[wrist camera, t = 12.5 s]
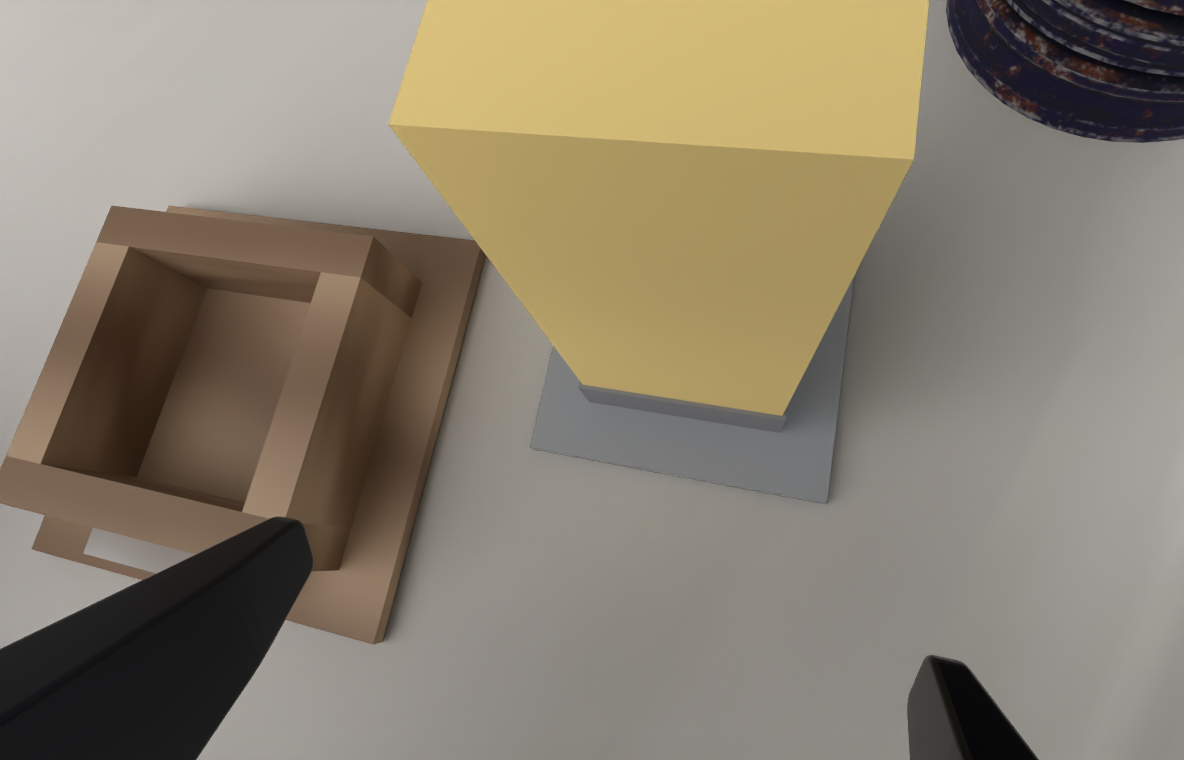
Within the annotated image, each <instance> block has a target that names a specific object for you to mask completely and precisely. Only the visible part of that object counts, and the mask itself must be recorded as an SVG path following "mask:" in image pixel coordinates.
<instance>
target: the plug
mask: <svg viewBox="0 0 1184 760" xmlns="http://www.w3.org/2000/svg"><path fill="white" fill-rule="evenodd" d="M928 6H929V0H428V1H427V4H426V7H425V10H424V13H423V17H422V20H421V23H420V26H419V29H418V32H417V36H416V39H415V42H414V45H413V48H412V51H411V55H410V58H409V61H408V64H407V67H406V70H405V74H404V77H403V80H402V83H401V86H400V89H399V93H398V96H397V99H396V102H395V105H394V108H393V112H392V115H391V118H390V121H389V124H388V125H389V126H390V127H391V129H392V130H393V131H394V133H395V134H396V135H397V137H398V138H399V139H400V141H401V142H402V143H403V145H404V146H405V147H406V149H407V150H408V151H409V153H410V154H411V155H412V157H413V158H414V159H415V161H416V162H417V163H418V165H419V166H420V167H421V169H422V170H423V171H424V173H425V174H426V175H427V177H428V178H429V179H430V181H431V182H432V184H433V185H434V186H435V188H436V189H437V190H438V192H439V193H440V194H441V196H442V197H443V198H444V200H445V201H446V202H447V204H448V205H449V206H450V208H451V209H452V210H453V212H454V213H455V214H456V216H457V217H458V218H459V220H460V221H461V222H462V224H463V225H464V226H465V228H466V229H467V230H468V232H469V233H470V234H471V236H472V237H473V238H474V240H475V241H476V242H477V244H478V245H479V246H480V248H481V249H482V250H483V252H484V253H485V255H486V256H487V257H488V259H489V260H490V261H491V263H492V264H493V265H494V267H495V268H496V269H497V271H498V272H499V273H500V275H501V276H502V277H503V279H504V280H505V281H506V283H507V284H508V285H509V287H510V288H511V289H512V291H513V292H514V293H515V295H516V296H517V297H518V299H519V300H520V301H521V303H522V304H523V305H524V307H525V308H526V309H527V311H528V312H529V313H530V315H531V316H532V317H533V319H534V320H535V321H536V323H537V324H538V326H539V327H540V328H541V330H542V331H543V332H544V334H545V335H546V336H547V338H548V339H549V340H550V342H551V343H552V344H553V346H554V347H555V348H556V350H557V351H558V352H559V354H560V355H561V356H562V358H563V359H564V360H565V362H566V363H567V364H568V366H569V367H570V368H571V370H572V371H573V372H574V374H575V375H576V376H577V378H578V379H579V380H580V381H579V386H578V388H579V390H580V391H581V392H582V393H583V395H584V396H585V397H586V398H587V400H588V401H589V402H592V403H599V404H605V405H611V406H617V407H623V408H629V409H636V410H642V411H648V412H654V413H660V414H666V415H672V416H679V417H685V418H691V419H697V420H703V421H709V422H716V423H722V424H728V425H734V426H740V427H746V428H752V429H759V430H765V431H771V432H777V433H779V432H780V430H781V429H782V427H783V425H784V423H785V421H786V417H787V409H788V404H789V402H790V400H791V398H792V396H793V394H794V392H795V390H796V388H797V386H798V384H799V382H800V380H801V378H802V376H803V374H804V373H805V371H806V369H807V367H808V365H809V363H810V361H811V359H812V357H813V355H814V353H815V351H816V349H817V347H818V345H819V343H820V341H821V339H822V337H823V335H824V334H825V332H826V330H827V328H828V326H829V324H830V322H831V320H832V318H833V316H834V314H835V312H836V310H837V308H838V306H839V304H840V302H841V300H842V298H843V297H844V295H845V293H846V291H847V289H848V287H849V285H850V283H851V281H852V279H853V277H854V275H855V273H856V271H857V269H858V267H859V265H860V263H861V261H862V259H863V258H864V256H865V254H866V252H867V250H868V248H869V246H870V244H871V242H872V240H873V238H874V236H875V234H876V232H877V230H878V228H879V226H880V224H881V222H882V221H883V219H884V217H885V215H886V213H887V211H888V209H889V207H890V205H891V203H892V201H893V199H894V197H895V195H896V193H897V191H898V189H899V187H900V185H901V183H902V182H903V180H904V178H905V176H906V174H907V172H908V170H909V168H910V166H911V164H912V162H913V160H914V152H915V142H916V131H917V121H918V111H919V100H920V90H921V79H922V69H923V59H924V48H925V38H926V27H927V17H928Z"/></svg>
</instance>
